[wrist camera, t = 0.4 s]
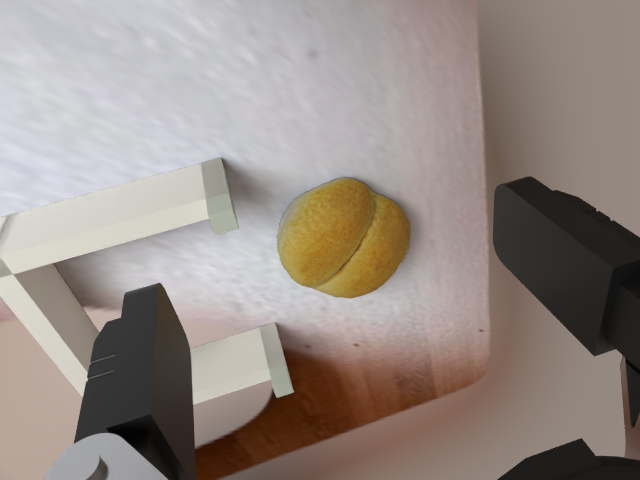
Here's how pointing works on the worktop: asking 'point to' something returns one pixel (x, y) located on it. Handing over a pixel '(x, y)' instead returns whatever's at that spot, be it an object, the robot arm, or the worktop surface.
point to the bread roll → (342, 238)
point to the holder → (116, 228)
